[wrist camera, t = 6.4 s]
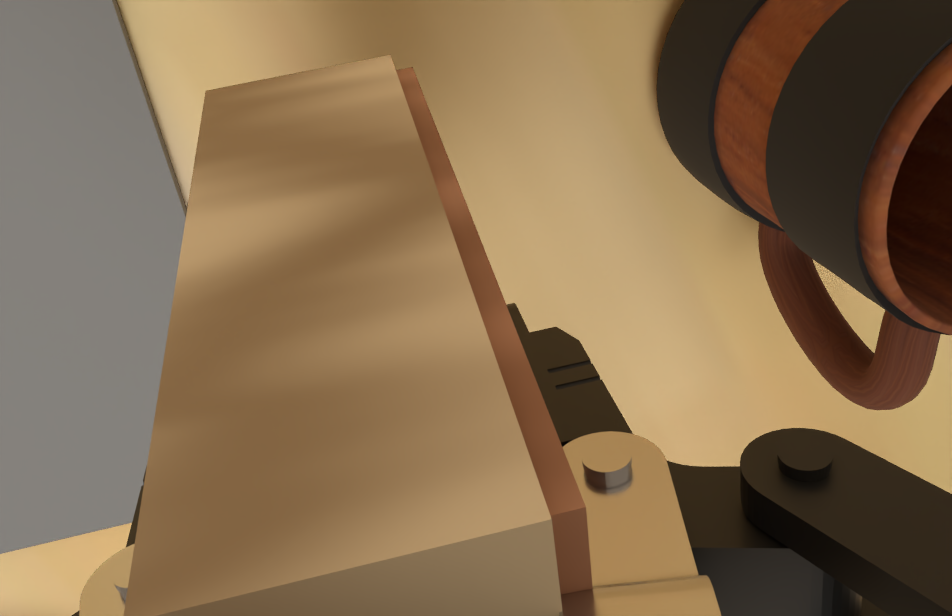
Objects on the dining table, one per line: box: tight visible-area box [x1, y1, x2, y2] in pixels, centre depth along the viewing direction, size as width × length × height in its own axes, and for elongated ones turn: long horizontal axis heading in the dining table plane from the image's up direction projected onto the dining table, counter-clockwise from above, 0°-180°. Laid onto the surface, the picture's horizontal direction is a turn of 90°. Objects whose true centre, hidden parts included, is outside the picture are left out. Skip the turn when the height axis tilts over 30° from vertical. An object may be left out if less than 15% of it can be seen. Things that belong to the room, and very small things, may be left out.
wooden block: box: [123, 55, 593, 616], centre depth 12 cm, size 3×8×10 cm, turn 9°
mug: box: [657, 0, 952, 410], centre depth 24 cm, size 9×12×12 cm
